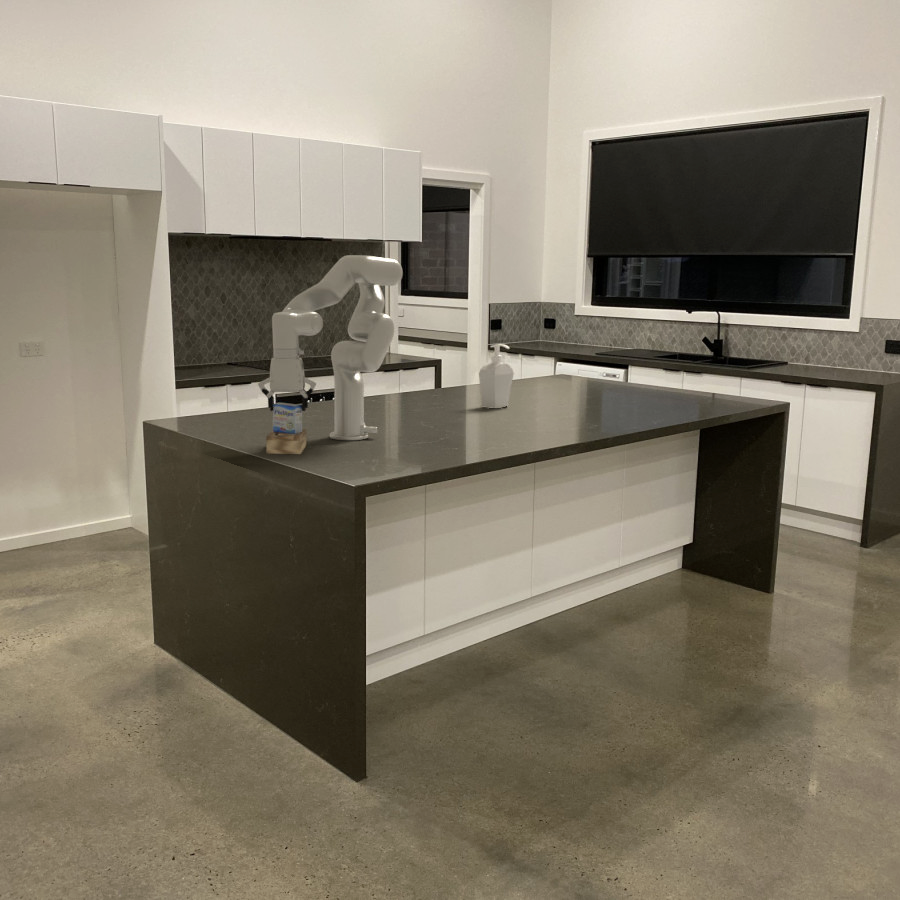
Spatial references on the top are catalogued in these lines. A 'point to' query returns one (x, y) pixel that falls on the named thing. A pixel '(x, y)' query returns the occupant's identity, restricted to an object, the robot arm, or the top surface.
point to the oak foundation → (285, 442)
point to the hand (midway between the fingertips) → (288, 410)
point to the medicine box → (287, 418)
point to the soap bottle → (496, 380)
